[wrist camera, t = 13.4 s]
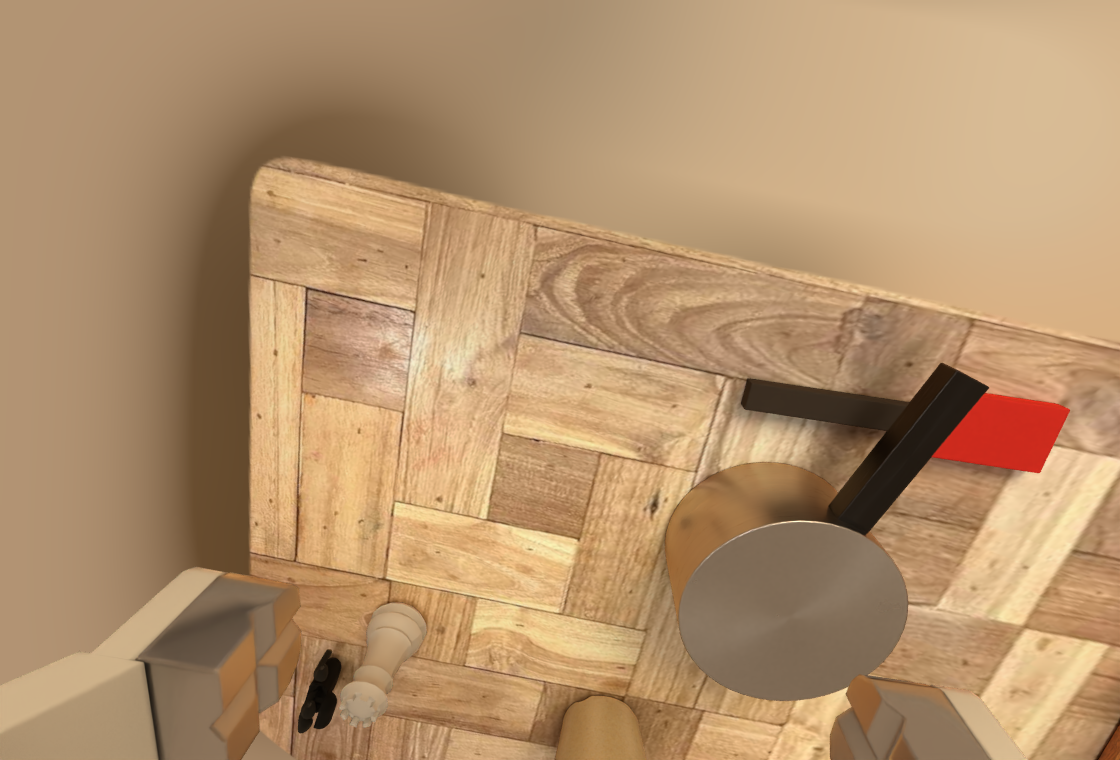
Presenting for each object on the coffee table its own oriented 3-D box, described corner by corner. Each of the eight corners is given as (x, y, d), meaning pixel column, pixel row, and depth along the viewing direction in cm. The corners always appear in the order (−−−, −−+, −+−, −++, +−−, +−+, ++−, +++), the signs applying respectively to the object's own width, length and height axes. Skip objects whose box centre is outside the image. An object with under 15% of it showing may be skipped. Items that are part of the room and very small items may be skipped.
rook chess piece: (420, 595, 42) (380, 684, 34) (435, 641, 43) (399, 736, 35) (365, 601, 42) (315, 690, 35) (382, 646, 44) (336, 741, 36)
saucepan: (816, 298, 32) (872, 323, 26) (995, 393, 34) (1092, 441, 27) (631, 573, 40) (638, 648, 33) (783, 644, 41) (819, 730, 34)
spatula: (752, 358, 34) (757, 363, 33) (1057, 403, 34) (1071, 409, 33) (735, 422, 35) (739, 428, 34) (1028, 466, 35) (1040, 473, 34)
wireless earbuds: (333, 633, 43) (301, 687, 39) (363, 644, 44) (334, 698, 39) (314, 693, 46) (282, 751, 41) (343, 703, 46) (313, 762, 41)
